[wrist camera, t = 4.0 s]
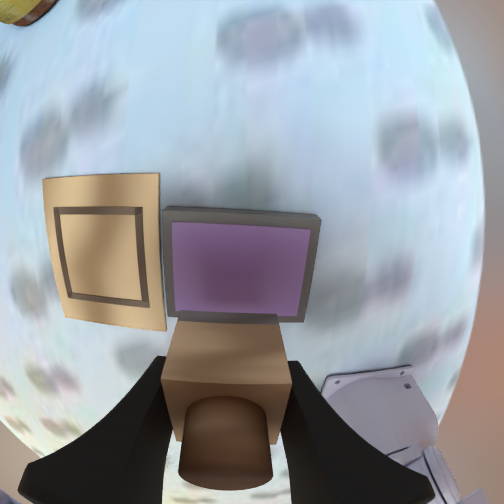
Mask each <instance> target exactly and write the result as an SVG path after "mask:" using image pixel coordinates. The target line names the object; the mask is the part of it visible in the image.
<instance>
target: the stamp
mask: <svg viewBox="0 0 504 504" xmlns="http://www.w3.org/2000/svg"><path fill="white" fill-rule="evenodd" d="M161 383H162V387H163V392H164V396H165V400H166V404H167V408H168V412H169V416H170V420H171V423H172V427H173V431H174V434H175V437H176V441H180V442H182V445H181V452H180V460H179V469H178V473H179V475H180V477H181V478H182V479H184V480H185V481H187V482H189V483H191V484H194V485H196V486H200V487H204V488H208V489H214V490H244V489H250V488H255V487H258V486H261V485H263V484H265V483H267V482H269V481H270V480H271V479H272V477H273V470H272V461H271V452H270V445H273V444H276V443H277V440H278V436H279V433H280V429H281V425H282V422H283V418H284V414H285V410H286V407H287V403H288V399H289V395H290V391H291V386H292V380H291V376H290V371H289V367H288V362H287V358H286V353H285V349H284V344H283V340H282V335H281V331H280V327H279V322H278V318H277V314H268V313H231V312H208V311H191V310H181V311H180V314H179V317H178V321H177V324H176V327H175V330H174V334H173V337H172V340H171V344H170V347H169V351H168V354H167V357H166V361H165V364H164V368H163V372H162V375H161Z"/></svg>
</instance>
